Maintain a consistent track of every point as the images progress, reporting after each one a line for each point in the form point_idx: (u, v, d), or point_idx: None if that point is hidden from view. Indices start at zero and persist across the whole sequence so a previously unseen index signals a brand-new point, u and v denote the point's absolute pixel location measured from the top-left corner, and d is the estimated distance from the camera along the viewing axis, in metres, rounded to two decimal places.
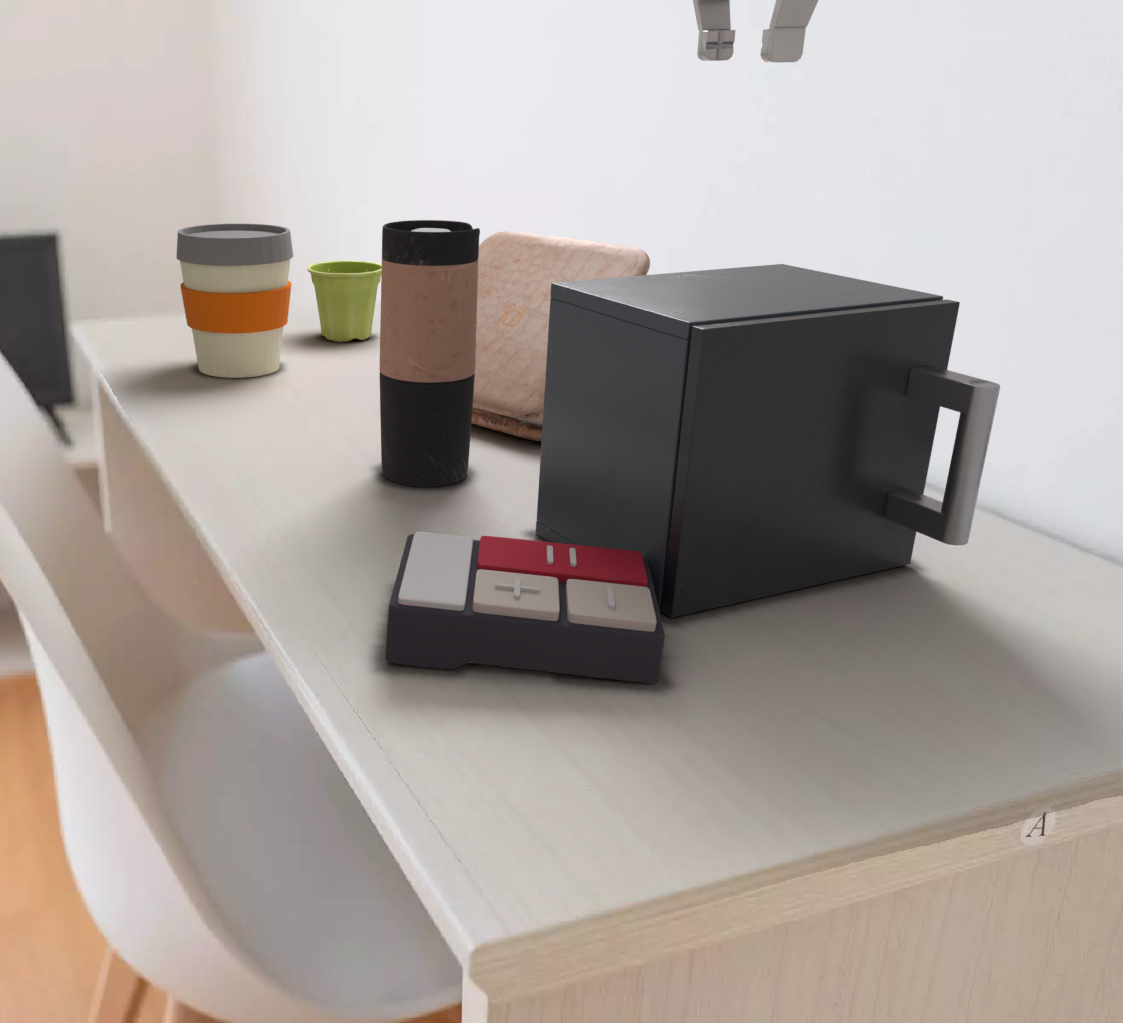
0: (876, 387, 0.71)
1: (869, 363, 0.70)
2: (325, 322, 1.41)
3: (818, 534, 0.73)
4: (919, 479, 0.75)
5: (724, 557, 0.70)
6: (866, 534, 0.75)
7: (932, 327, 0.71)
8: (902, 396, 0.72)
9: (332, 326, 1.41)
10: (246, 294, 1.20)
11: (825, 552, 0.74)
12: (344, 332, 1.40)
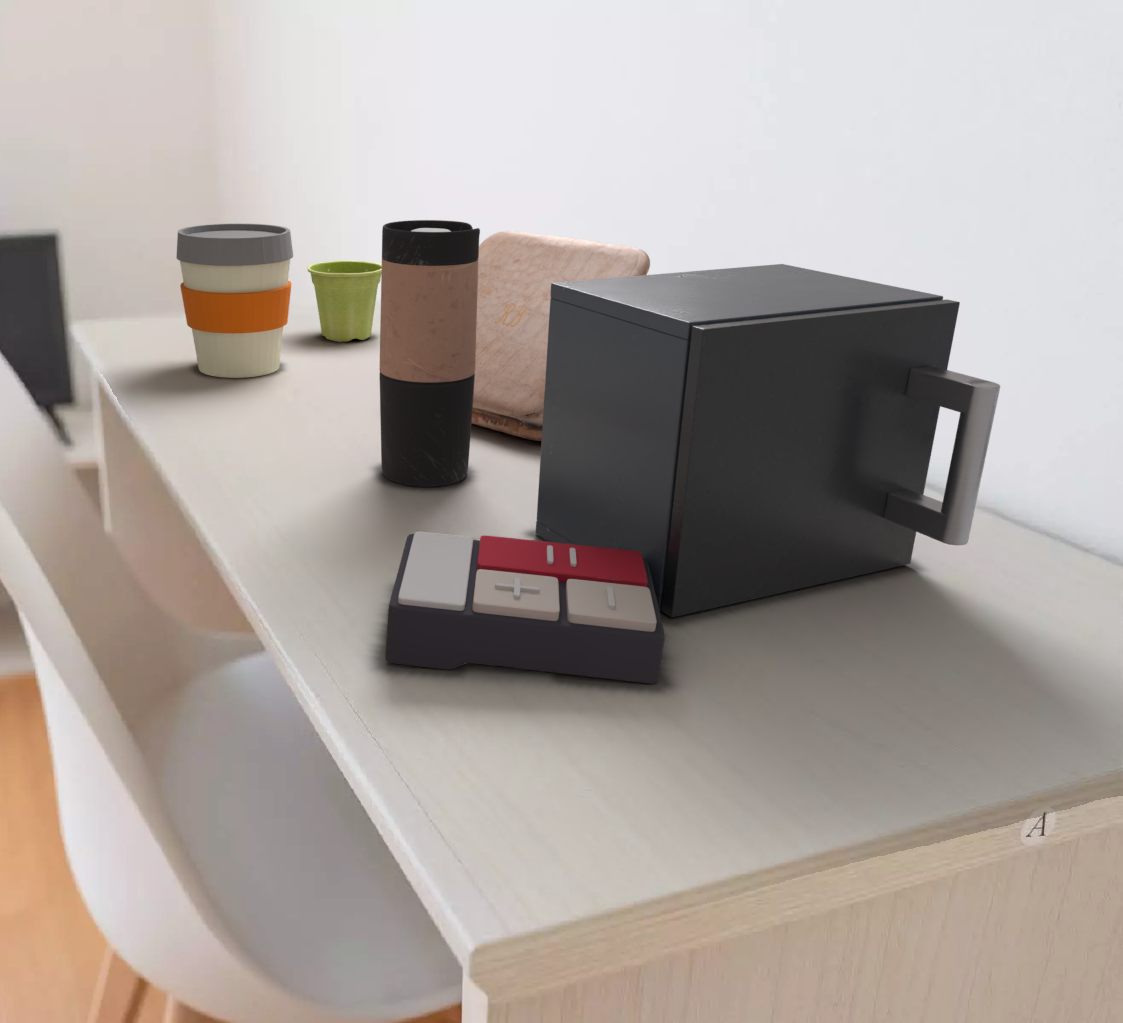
0: (876, 387, 0.71)
1: (869, 363, 0.70)
2: (325, 322, 1.41)
3: (818, 534, 0.73)
4: (919, 479, 0.75)
5: (724, 557, 0.70)
6: (866, 534, 0.75)
7: (932, 327, 0.71)
8: (902, 396, 0.72)
9: (332, 326, 1.41)
10: (246, 294, 1.20)
11: (825, 552, 0.74)
12: (344, 332, 1.40)
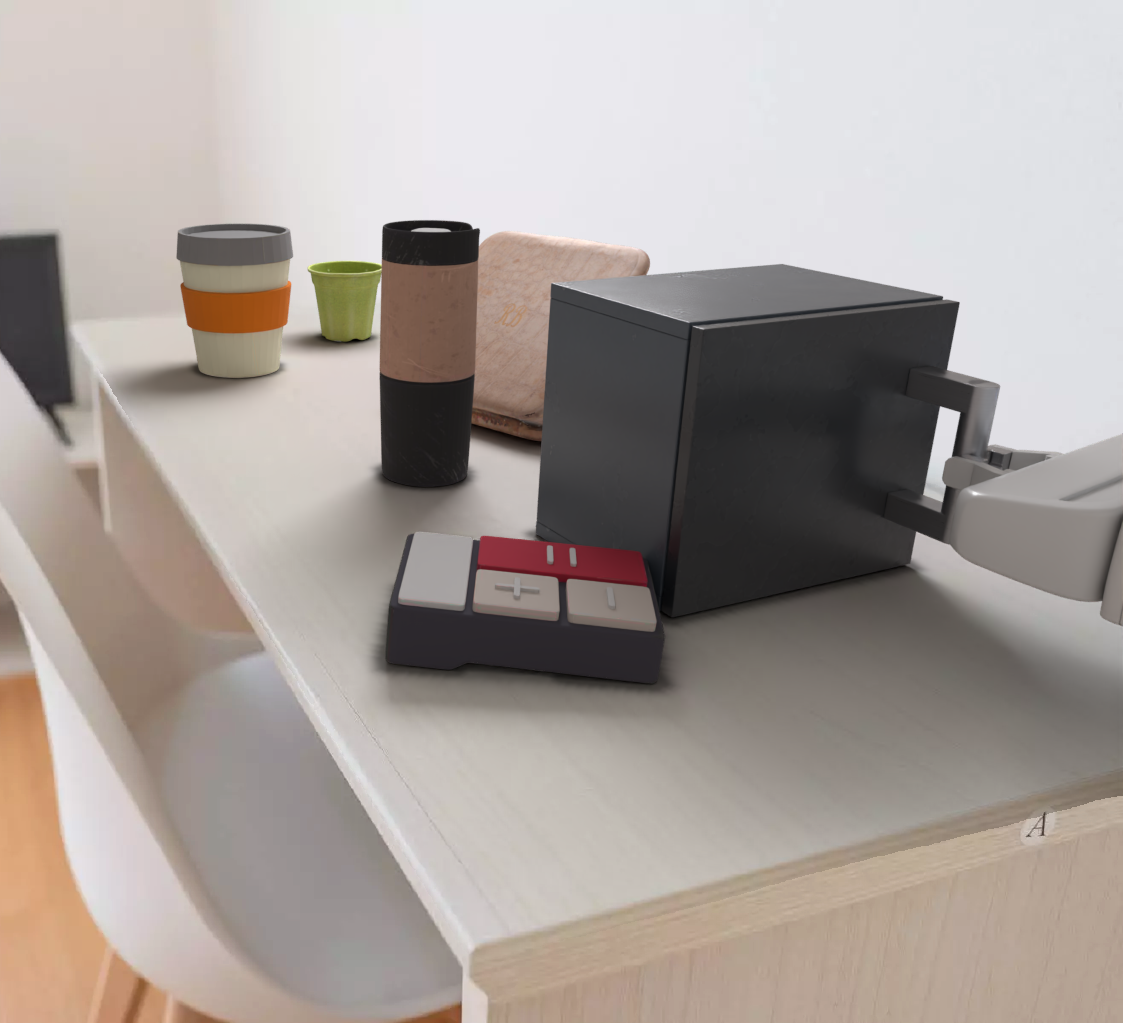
0: (876, 387, 0.71)
1: (869, 363, 0.70)
2: (325, 322, 1.41)
3: (818, 534, 0.73)
4: (919, 479, 0.75)
5: (724, 557, 0.70)
6: (866, 534, 0.75)
7: (932, 327, 0.71)
8: (902, 396, 0.72)
9: (332, 326, 1.41)
10: (246, 294, 1.20)
11: (825, 552, 0.74)
12: (344, 332, 1.40)
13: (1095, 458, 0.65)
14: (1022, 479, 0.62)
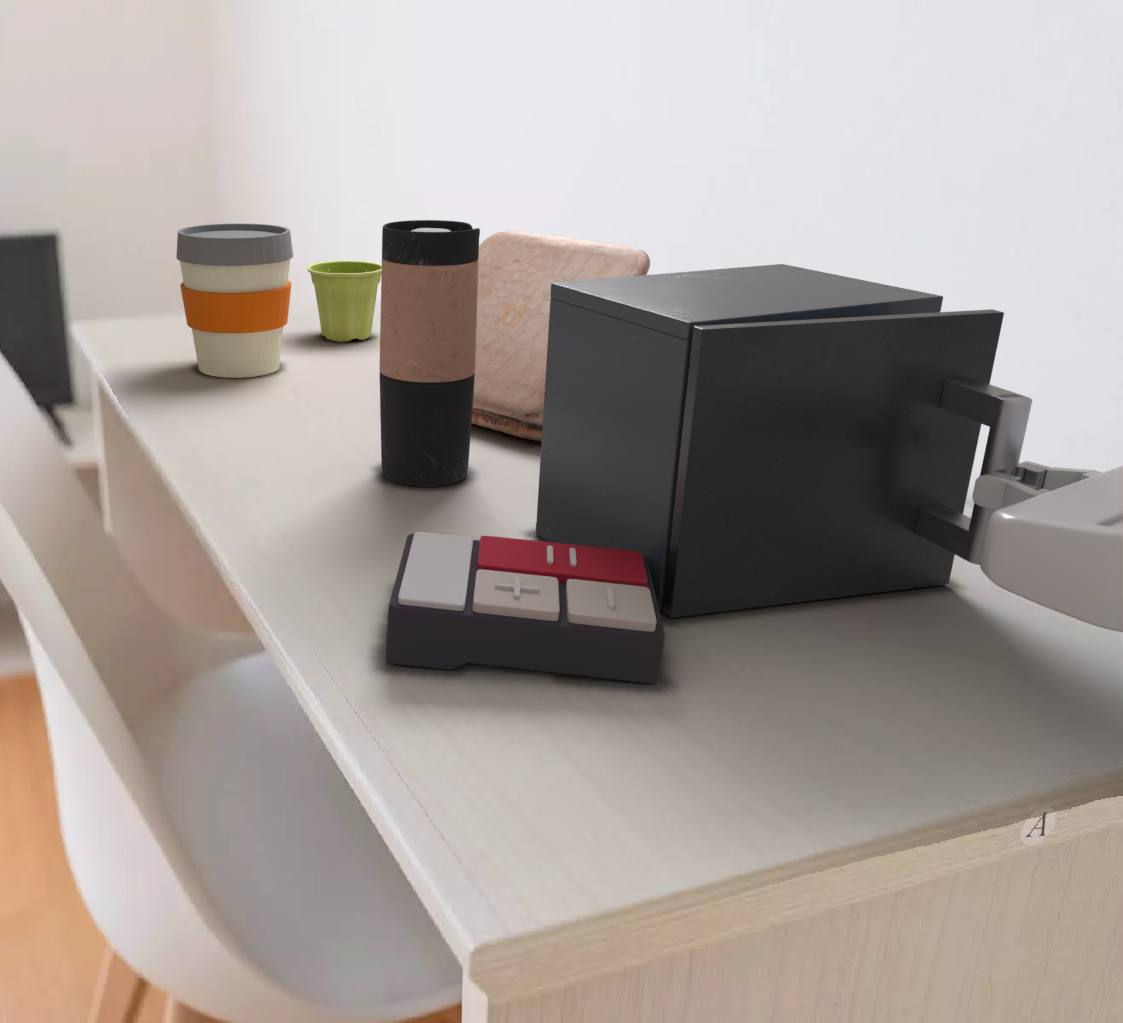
0: (904, 397, 0.69)
1: (895, 372, 0.68)
2: (325, 322, 1.41)
3: (838, 545, 0.71)
4: (958, 496, 0.72)
5: (729, 561, 0.70)
6: (895, 549, 0.73)
7: (971, 337, 0.68)
8: (935, 408, 0.70)
9: (332, 326, 1.41)
10: (246, 294, 1.20)
11: (846, 564, 0.72)
12: (344, 332, 1.40)
13: None
14: (1058, 501, 0.59)
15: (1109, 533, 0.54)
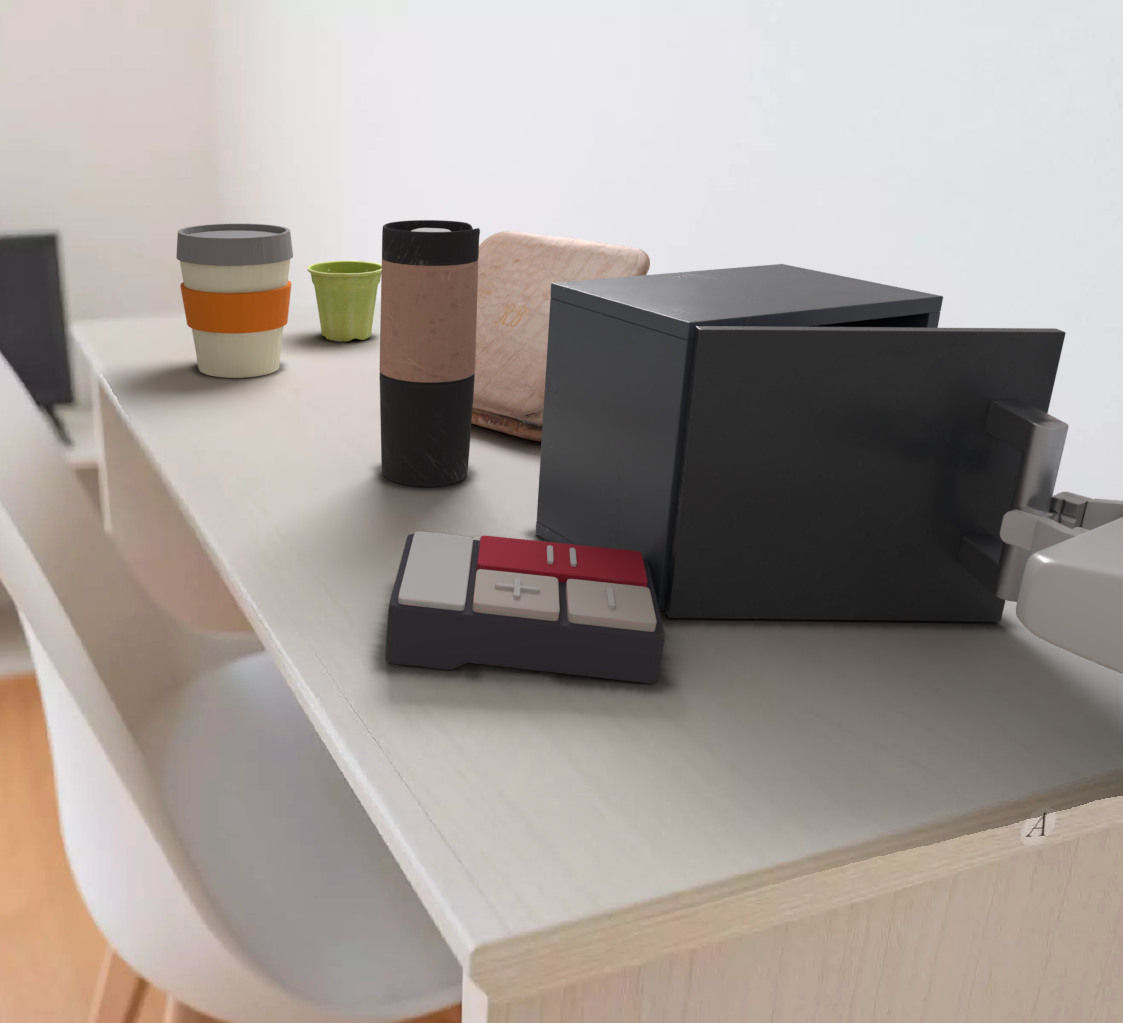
0: (940, 415, 0.65)
1: (928, 387, 0.65)
2: (325, 322, 1.41)
3: (861, 565, 0.69)
4: None
5: (734, 568, 0.69)
6: (932, 577, 0.69)
7: (1023, 357, 0.64)
8: (980, 430, 0.65)
9: (332, 326, 1.41)
10: (246, 294, 1.20)
11: (872, 586, 0.69)
12: (344, 332, 1.40)
13: None
14: (1101, 542, 0.54)
15: None
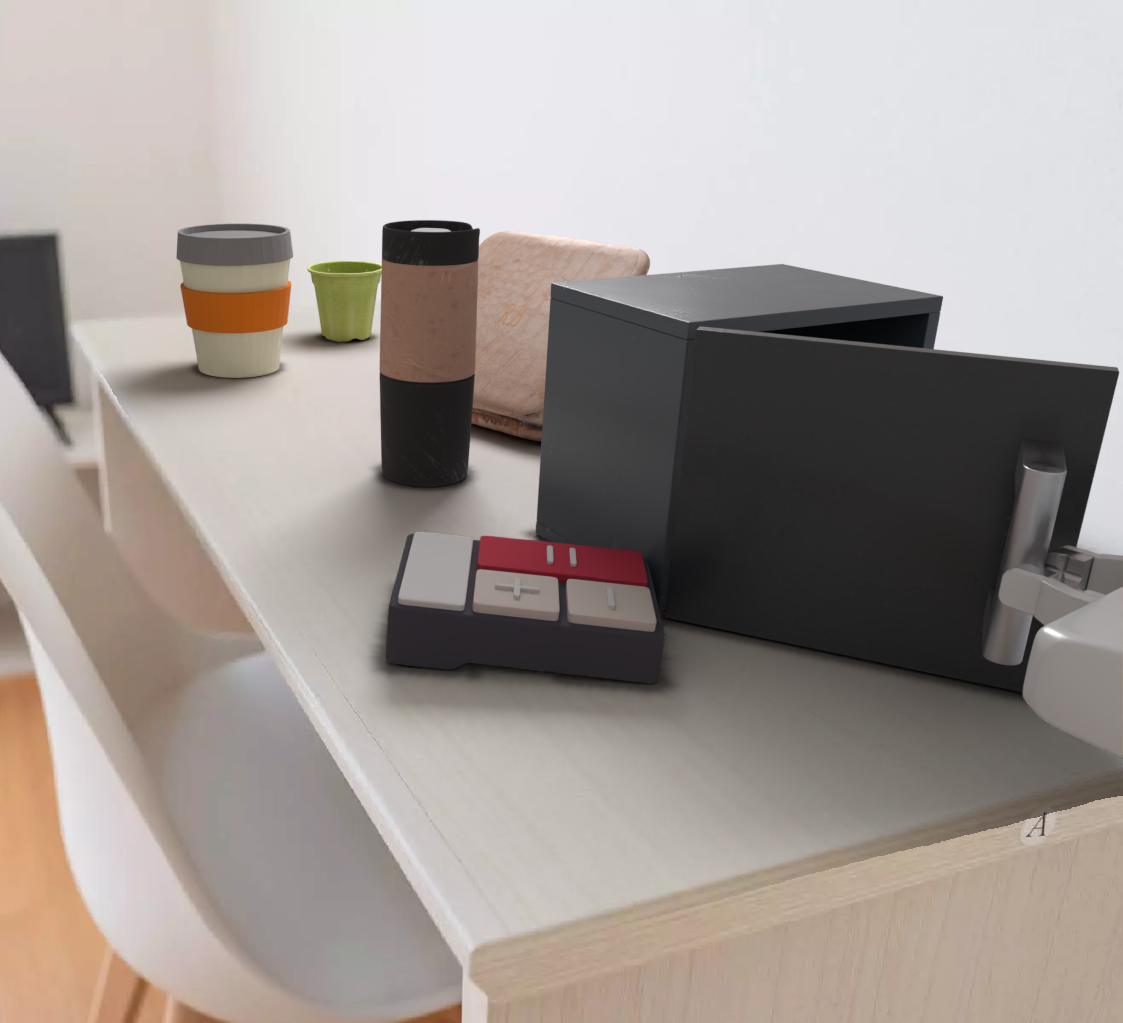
0: (961, 449, 0.59)
1: (946, 417, 0.59)
2: (325, 322, 1.41)
3: (870, 600, 0.64)
4: None
5: (731, 578, 0.67)
6: (953, 628, 0.62)
7: (1063, 395, 0.56)
8: (1010, 471, 0.59)
9: (332, 326, 1.41)
10: (246, 294, 1.20)
11: (882, 625, 0.64)
12: (344, 332, 1.40)
13: None
14: (1118, 611, 0.47)
15: None
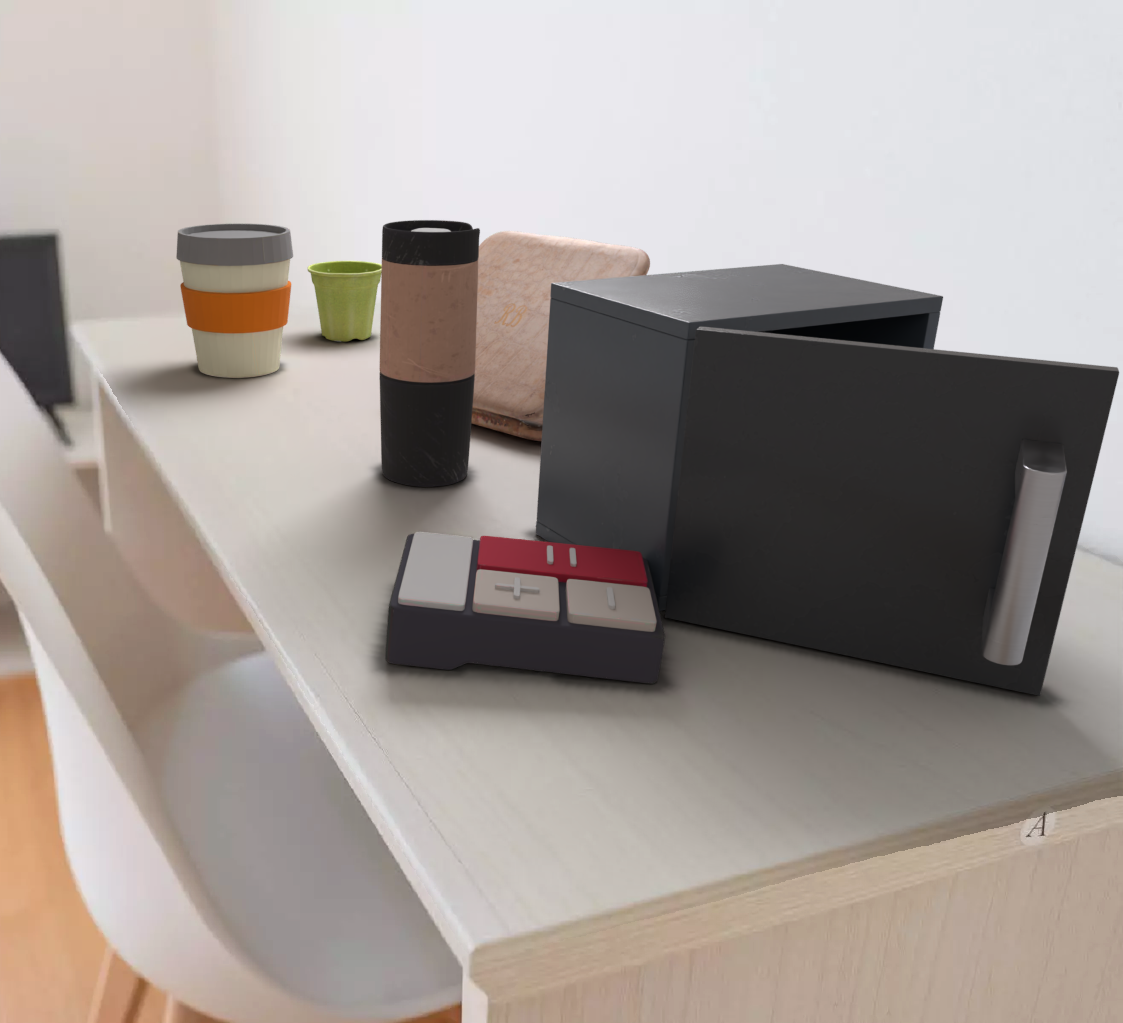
0: (961, 449, 0.59)
1: (946, 417, 0.59)
2: (325, 322, 1.41)
3: (870, 600, 0.64)
4: (1050, 589, 0.60)
5: (731, 578, 0.67)
6: (953, 628, 0.62)
7: (1063, 395, 0.56)
8: (1010, 471, 0.59)
9: (332, 326, 1.41)
10: (246, 294, 1.20)
11: (882, 625, 0.64)
12: (344, 332, 1.40)
13: None
14: None
15: None
